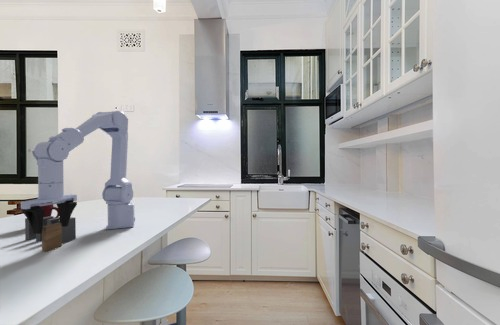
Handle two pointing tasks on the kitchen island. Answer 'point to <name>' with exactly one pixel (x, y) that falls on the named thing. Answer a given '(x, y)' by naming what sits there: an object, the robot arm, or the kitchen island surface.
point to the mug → (49, 210)
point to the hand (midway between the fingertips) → (51, 229)
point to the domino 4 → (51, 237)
